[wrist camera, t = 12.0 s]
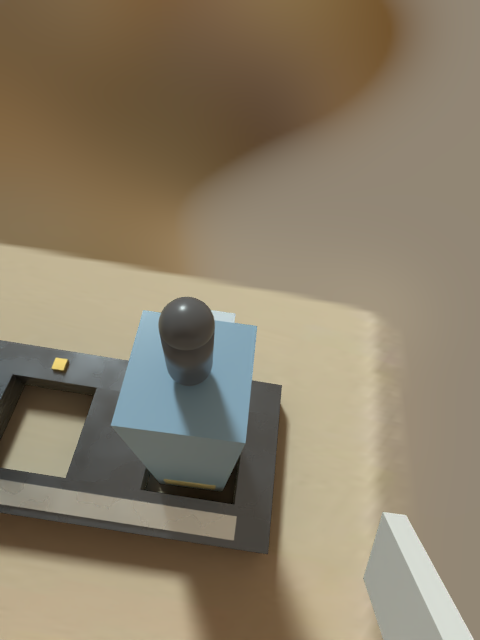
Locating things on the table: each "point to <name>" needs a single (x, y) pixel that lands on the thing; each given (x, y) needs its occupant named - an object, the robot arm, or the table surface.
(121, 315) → the table surface
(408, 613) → the robot arm
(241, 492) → the port panel
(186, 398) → the plug
